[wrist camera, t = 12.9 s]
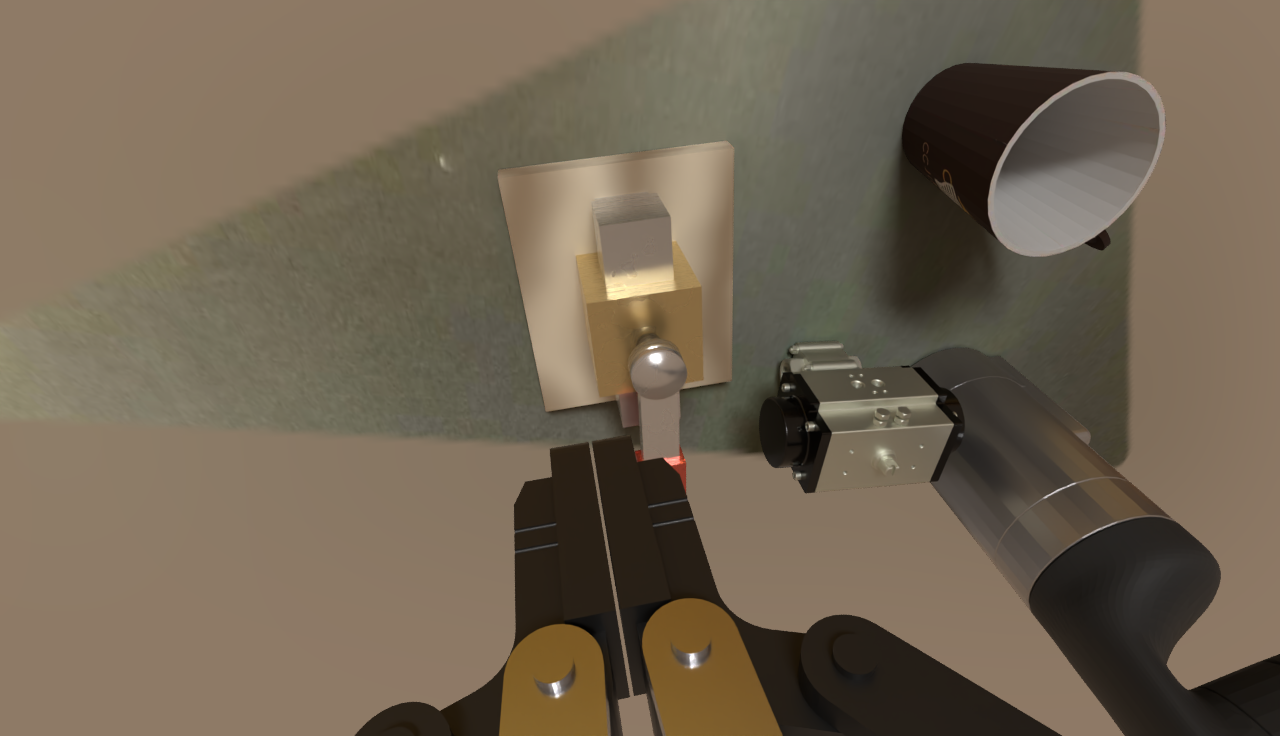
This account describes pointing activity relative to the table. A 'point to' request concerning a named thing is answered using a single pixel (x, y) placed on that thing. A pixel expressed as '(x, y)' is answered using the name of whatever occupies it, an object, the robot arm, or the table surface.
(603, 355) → the valve
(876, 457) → the pneumatic valve
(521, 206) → the mounting board
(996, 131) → the coffee mug
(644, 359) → the lever
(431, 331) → the table surface
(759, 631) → the robot arm
